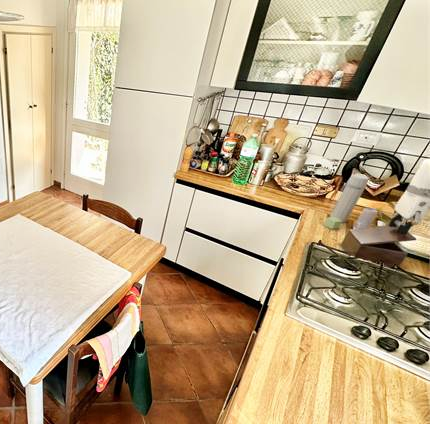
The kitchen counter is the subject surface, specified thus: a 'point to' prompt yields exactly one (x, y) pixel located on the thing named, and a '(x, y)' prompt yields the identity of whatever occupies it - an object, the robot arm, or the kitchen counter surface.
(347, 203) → the water bottle
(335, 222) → the block
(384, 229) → the box lid
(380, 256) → the keepsake box
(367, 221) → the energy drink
